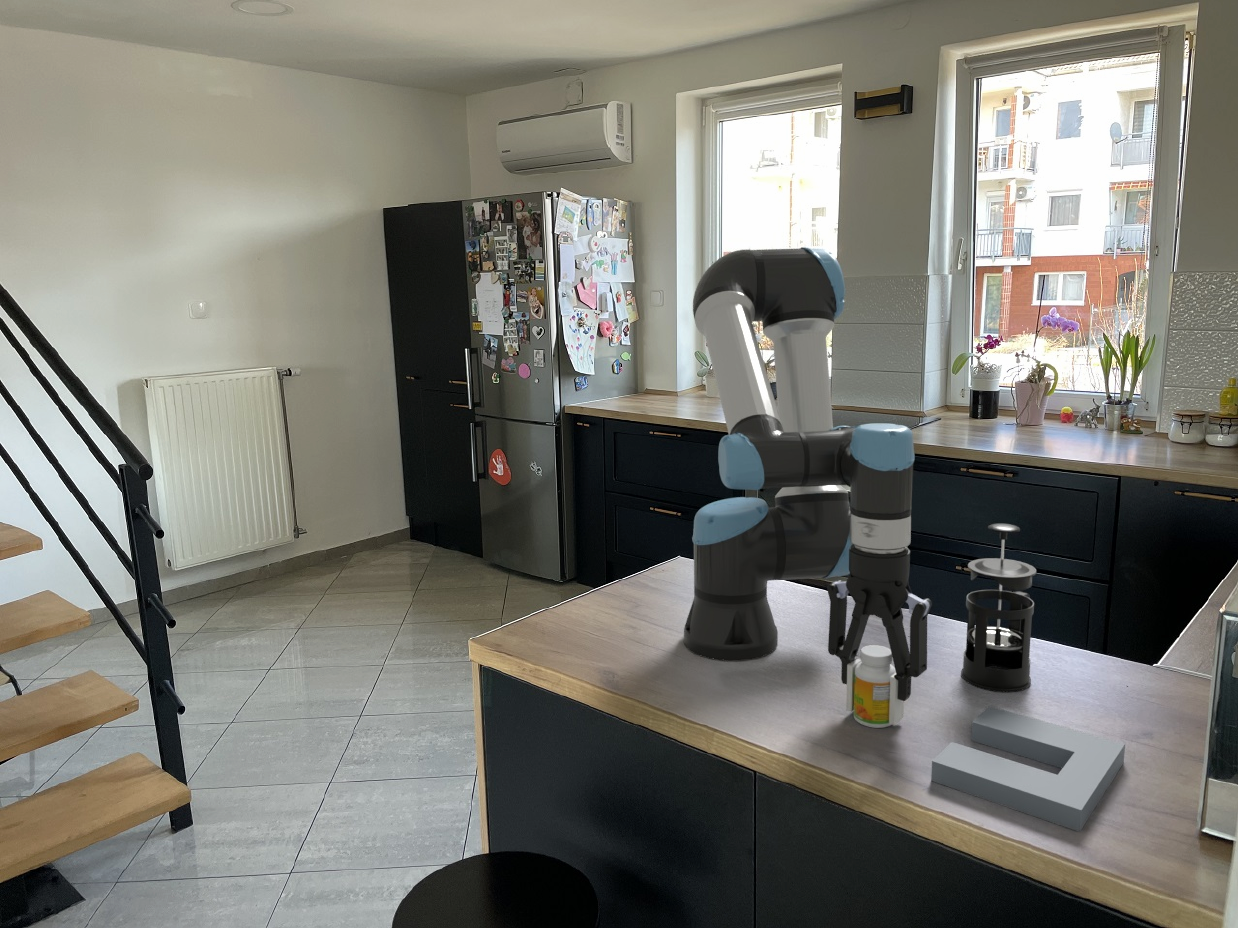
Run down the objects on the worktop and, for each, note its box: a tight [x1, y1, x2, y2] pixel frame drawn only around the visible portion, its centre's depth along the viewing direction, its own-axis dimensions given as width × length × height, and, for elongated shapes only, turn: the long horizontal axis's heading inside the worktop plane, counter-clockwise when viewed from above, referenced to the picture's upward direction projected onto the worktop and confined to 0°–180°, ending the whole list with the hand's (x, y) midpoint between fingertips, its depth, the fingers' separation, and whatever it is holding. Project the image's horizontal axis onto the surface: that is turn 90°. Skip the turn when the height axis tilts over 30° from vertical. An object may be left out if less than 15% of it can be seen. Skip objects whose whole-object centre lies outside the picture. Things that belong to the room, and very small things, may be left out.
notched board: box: [930, 705, 1126, 832], centre depth 107 cm, size 16×18×2 cm
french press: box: [960, 522, 1037, 693], centre depth 130 cm, size 12×9×23 cm
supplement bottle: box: [853, 644, 896, 729], centre depth 120 cm, size 5×5×10 cm
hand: (874, 713), depth 121 cm, fingers closed on supplement bottle, 5 cm apart
